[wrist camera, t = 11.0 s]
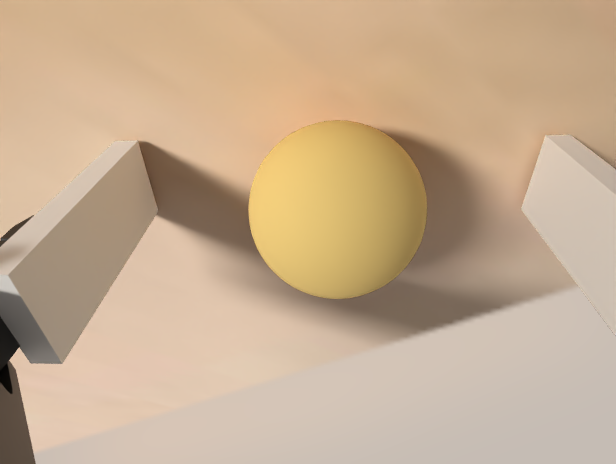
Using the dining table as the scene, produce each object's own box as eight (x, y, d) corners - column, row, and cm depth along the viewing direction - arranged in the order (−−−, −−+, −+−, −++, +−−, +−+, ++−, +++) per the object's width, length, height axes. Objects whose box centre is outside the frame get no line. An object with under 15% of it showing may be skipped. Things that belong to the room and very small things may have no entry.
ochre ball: (267, 231, 15) (246, 336, 11) (253, 97, 12) (217, 173, 8) (401, 230, 15) (430, 338, 11) (419, 94, 12) (468, 171, 8)
